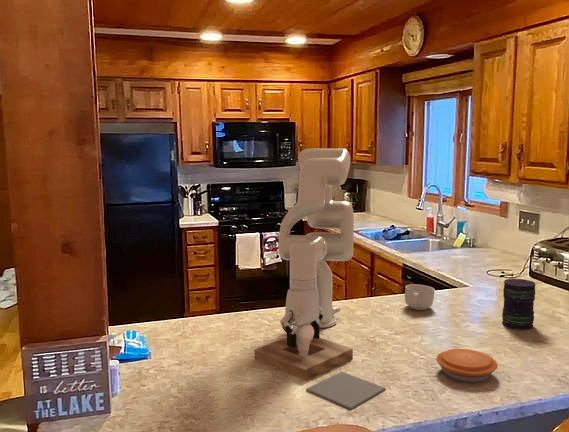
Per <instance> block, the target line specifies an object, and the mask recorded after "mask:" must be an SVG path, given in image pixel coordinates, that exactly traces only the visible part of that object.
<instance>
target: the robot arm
mask: <svg viewBox="0 0 569 432" xmlns="http://www.w3.org/2000/svg"><path fill="white" fill-rule="evenodd" d="M297 159H298V166H299V169H300V170H299V180H298V192H297V202H296V204H295V205H294V206H292V207H291V208H290V209H289V210H288V212H287V213H286V214H285V216H284V218H283V219H282V220H281V223H280V228H279V234H278V243H277V245H278V246H277V248H278V249H277V250H278V254H279V257H280V258H281V259H282V260H285V261H289V289H287V294H286V297H285V298H286V300H285V310H284V311H285V312H284V313H285V314H284V316H283V317H282V318H281V319H280V322H279V323H280V325H281V327H282V330H283V331H284V332H285V333H286V338H287V346H290V347H293V348H296V334H295V331H296V329H297V327H298V326H301V325H304V324H307V323H309V324H311V325H312V327H313V329H314V336H313V338H316V339H319V338H320V329H322V328H330V327H333V326H335V325H336V324H337V318H336V316H335V314H337V313H339V312H340V311H341V308H340V307H339V306H335V307H333V272H332V269H331V268H330V266H329V265H328V263H327V262H329V261H330V262H347V261H350V260H351V259H352V258H353V256H354V235H355V234H354V233H355V232H354V231H355V230H354V229H355V228H354V226H355V222H354V221H355V220H354V218H355V217H354V215H355V214H354V208H353V205H352V204H351V203H350V202H348V201H347V200H346V201H345V200H334V199H333V186H338V185H339V186H341V185H344V184H345V183H346V180H347V179H348V175H349V171H350V167H351V155H350V152H349V150H347V149H346V148H342V147H341V148H333V147H332V148H331V147H330V148H322V147H320V148H319V147H317V148H314V147H313V148H306V149H303V150H301V151H300V152H299V154H298V157H297ZM305 218H306V222H307V224H308V226H309V227H311V228H313V229H314V228H315V229H327V230H328V229H331V230H332V229H334V230H335V229H337V230H339V231H340V232H321V231H319V232H318V231H317V232H315V231H314V232H310V233H307V234H305V235H304V234H303V235H301V234H300V235H299V234H291V229H292V228H293V226H294V225H296V223H298V222H299V221H301V220H303V219H305ZM326 261H327V262H326Z"/></svg>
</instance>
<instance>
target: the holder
mask: <svg viewBox="0 0 569 432" xmlns="http://www.w3.org/2000/svg"><path fill="white" fill-rule="evenodd" d="M253 351H254V355H253V356H254V360H255V361H258V362H259V363H261V364H262V363H263V364H264V365H267V366H270V367H271V368H275V369H277V370H279V371H282V372H284V373H287V374H288V375H291V376H293V377H296V378H299V379H301V380H304V381H307V380H308V381H309V380H310V379H312V378H314V377H317V376H318V375H321V374H323V373H325V372H328V371H330V370H331V369H333V368H335V367H337V366H340V365H342V364H344V363H346V362H348V361H351V360H353V357H354V356H353V355H354V354H353V353H354V348H352V347H349V346H346V345H343V344H340V343H337V342H334V341H331V340H327V339H325V338H322V337H319V339H316V338H312V340H311V342H310V345H309V351H308V354H310V355H308V357H305V358H304V357H301V356H299V350H298V345H297V342H296V348H293V347H290V346H287V337H284V338H282V339H278V340H276V341H273V342H271V343H269V344H266V345H263V346H260V347H257V348H255V349H253Z"/></svg>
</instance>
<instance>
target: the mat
mask: <svg viewBox="0 0 569 432" xmlns="http://www.w3.org/2000/svg"><path fill="white" fill-rule="evenodd" d="M385 390H386V387H384V386H381V385H378V384H376V383H375V382H372V381H368V380H365V379H363V378H360V377H357V376H355V375H352V374H349V373H347V372H344V371H340V372H338V373H336V374H333V375H332V376H330V377H327V378H326V379H323V380H321V381H319V382H318V383H316V384H313V385H311V386H309V387H307V388H306V391H307V392H309V393H311V394H314V395H316V396H318V397H320V398H323V399H325V400H328V401H329V402H332V403H334V404H337V405H339V406H340V407H344V408H345V409H349V410H353V409H354V408H355V409H356V408H357V407H358V406H360V405H363V403H365V402H367V401H368V400H371V399H372V398H374V397H375V396H377V395H379V394H381V393H383V392H384V391H385Z"/></svg>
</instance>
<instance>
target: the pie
mask: <svg viewBox="0 0 569 432" xmlns="http://www.w3.org/2000/svg"><path fill="white" fill-rule="evenodd" d="M436 362H437V364H438V365H439V366H440V368H441V369H442V371H443V373H444V374H445V375H446V376H447V377H448V378H450V379H453V380H455V381H458V382H463V383H472V384H473V383H481V382H485V381H486V380H487V379H489V377H491V375H492V374H493V372H495V371H496V370H497V369H498V366H499V365H498V363H497V361H496V360H495V359H494V358H493V357H491V356H489V355H488V354H485V353H484V352H481V351H477V350H473V349H467V348H454V349H453V348H451V349H449V350H445V351H442V352H440V353H439V354H437V356H436Z"/></svg>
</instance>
